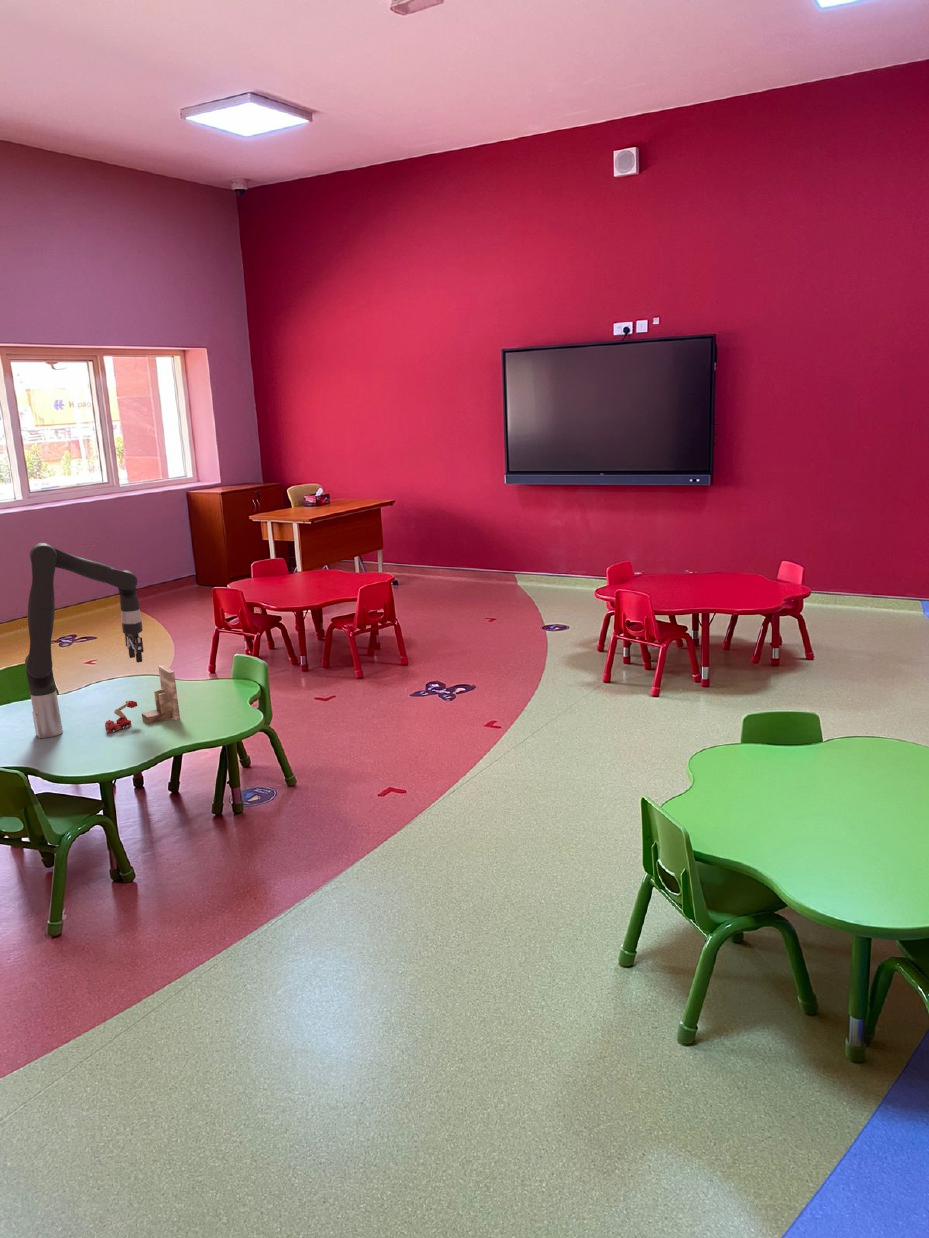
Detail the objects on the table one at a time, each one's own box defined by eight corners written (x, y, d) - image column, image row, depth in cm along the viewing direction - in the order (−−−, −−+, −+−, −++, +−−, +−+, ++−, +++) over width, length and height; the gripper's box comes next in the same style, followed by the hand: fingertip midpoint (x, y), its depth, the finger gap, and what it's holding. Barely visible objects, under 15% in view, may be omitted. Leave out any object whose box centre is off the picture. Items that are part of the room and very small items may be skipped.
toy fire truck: (104, 732, 359) (101, 709, 357) (135, 721, 370) (132, 699, 368) (109, 734, 357) (106, 710, 355) (140, 723, 368) (137, 700, 366)
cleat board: (150, 726, 364) (144, 678, 359) (140, 717, 374) (133, 671, 369) (180, 719, 370) (174, 671, 366) (169, 710, 381) (163, 664, 376)
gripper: (116, 619, 369) (120, 657, 373) (128, 625, 358) (132, 665, 362) (135, 616, 374) (139, 654, 378) (147, 622, 363) (151, 661, 367)
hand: (135, 659), depth 370 cm, fingers open, 8 cm apart
